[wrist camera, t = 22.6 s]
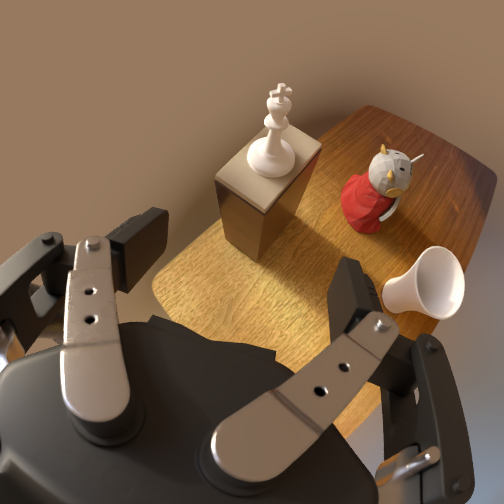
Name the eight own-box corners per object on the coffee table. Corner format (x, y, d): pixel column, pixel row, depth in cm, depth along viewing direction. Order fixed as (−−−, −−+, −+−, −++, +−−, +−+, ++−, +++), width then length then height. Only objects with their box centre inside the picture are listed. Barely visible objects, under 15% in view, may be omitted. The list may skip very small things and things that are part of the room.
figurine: (390, 243, 46) (436, 212, 32) (335, 225, 47) (369, 184, 32) (394, 186, 50) (431, 146, 35) (345, 167, 50) (372, 119, 36)
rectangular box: (256, 262, 44) (265, 212, 25) (225, 239, 45) (212, 175, 26) (295, 214, 47) (324, 143, 28) (265, 193, 48) (276, 115, 29)
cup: (362, 305, 43) (403, 295, 30) (386, 256, 45) (428, 231, 32) (404, 334, 41) (452, 332, 28) (425, 286, 44) (471, 270, 31)
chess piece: (302, 170, 27) (326, 100, 17) (258, 184, 26) (265, 111, 16) (282, 135, 28) (295, 64, 18) (240, 147, 27) (239, 73, 18)
